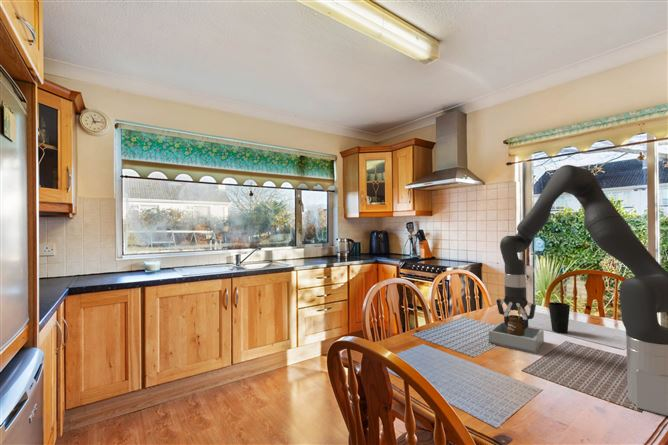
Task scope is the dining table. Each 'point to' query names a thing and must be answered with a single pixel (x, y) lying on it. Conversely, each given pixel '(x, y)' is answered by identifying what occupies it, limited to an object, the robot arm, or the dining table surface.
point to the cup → (559, 317)
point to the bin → (517, 338)
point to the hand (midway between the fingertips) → (516, 326)
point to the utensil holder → (516, 324)
